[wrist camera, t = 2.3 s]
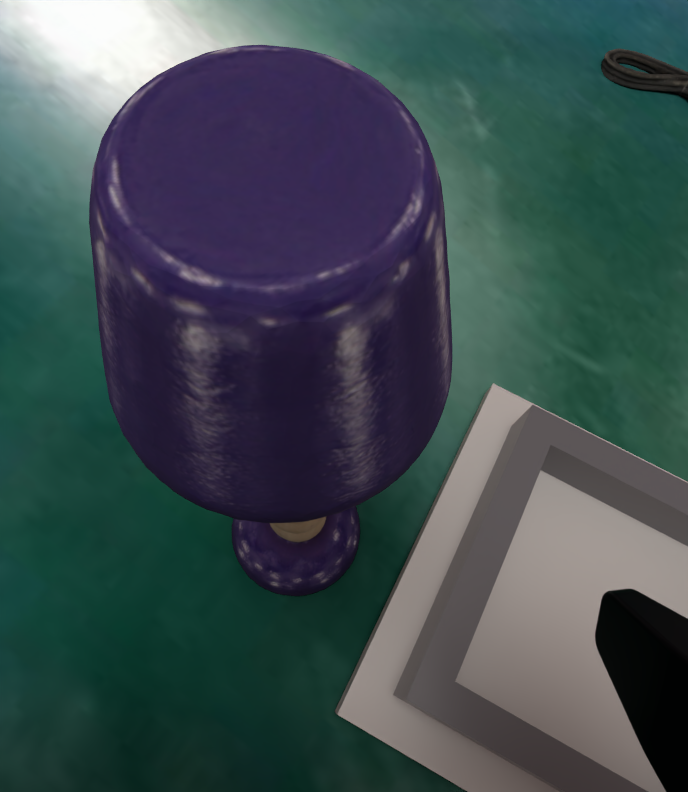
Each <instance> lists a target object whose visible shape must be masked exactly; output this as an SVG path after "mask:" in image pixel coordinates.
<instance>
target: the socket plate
mask: <svg viewBox="0 0 688 792" xmlns="http://www.w3.org/2000/svg"><path fill="white" fill-rule="evenodd" d="M619 589H634V590H636V591H639V592H640V593H642V594H644V595H646V596H648V597H649V598H651V599H653V600H655V601H657V602H658V603H660V604H662V605H664V606H666V607H668V608H669V609H671V610H673V611H675V612H677V613H678V614H680V615H682V616H684V617H686V618H687V619H688V482H687V481H685V480H683V479H681V478H679V477H677V476H675V475H673V474H671V473H669V472H667V471H665V470H663V469H661V468H659V467H657V466H655V465H653V464H651V463H649V462H647V461H645V460H643V459H641V458H639V457H637V456H635V455H633V454H631V453H629V452H627V451H625V450H624V449H622V448H620V447H618V446H616V445H614V444H612V443H610V442H608V441H606V440H604V439H602V438H600V437H598V436H596V435H594V434H592V433H590V432H588V431H586V430H584V429H582V428H580V427H578V426H576V425H574V424H572V423H570V422H568V421H566V420H564V419H562V418H560V417H558V416H556V415H554V414H552V413H550V412H548V411H546V410H544V409H543V408H541V407H539V406H537V405H535V404H533V403H531V402H529V401H527V400H525V399H523V398H521V397H519V396H517V395H515V394H513V393H511V392H509V391H507V390H505V389H503V388H501V387H499V386H497V385H495V384H492V386H491V387H490V388H489V390H488V391H487V392H486V393H485V395H484V397H483V399H482V401H481V403H480V406H479V408H478V410H477V412H476V414H475V416H474V418H473V420H472V422H471V425H470V427H469V429H468V431H467V433H466V435H465V437H464V439H463V441H462V444H461V446H460V448H459V450H458V452H457V454H456V456H455V458H454V460H453V463H452V465H451V467H450V469H449V471H448V473H447V475H446V477H445V479H444V482H443V484H442V486H441V488H440V490H439V492H438V494H437V496H436V498H435V501H434V503H433V505H432V507H431V509H430V511H429V513H428V515H427V517H426V520H425V522H424V524H423V526H422V528H421V530H420V532H419V534H418V536H417V539H416V541H415V543H414V545H413V547H412V549H411V551H410V553H409V555H408V558H407V560H406V562H405V564H404V566H403V568H402V570H401V572H400V574H399V577H398V579H397V581H396V583H395V585H394V587H393V589H392V591H391V593H390V596H389V598H388V600H387V602H386V604H385V606H384V608H383V610H382V612H381V615H380V617H379V619H378V621H377V623H376V625H375V627H374V629H373V631H372V634H371V636H370V638H369V640H368V642H367V644H366V646H365V648H364V650H363V653H362V655H361V657H360V659H359V661H358V663H357V665H356V667H355V670H354V672H353V674H352V676H351V678H350V680H349V682H348V684H347V686H346V689H345V691H344V693H343V695H342V697H341V699H340V701H339V703H338V705H337V708H336V710H335V713H336V714H337V715H339V716H341V717H342V718H344V719H346V720H347V721H349V722H351V723H352V724H354V725H356V726H357V727H359V728H361V729H362V730H364V731H366V732H368V733H369V734H371V735H373V736H374V737H376V738H378V739H379V740H381V741H383V742H384V743H386V744H388V745H390V746H391V747H393V748H395V749H396V750H398V751H400V752H401V753H403V754H405V755H406V756H408V757H410V758H412V759H413V760H415V761H417V762H418V763H420V764H422V765H423V766H425V767H427V768H428V769H430V770H432V771H434V772H435V773H437V774H439V775H440V776H442V777H444V778H445V779H447V780H449V781H450V782H452V783H454V784H456V785H457V786H459V787H461V788H462V789H464V790H466V791H467V792H666V791H665V789H664V787H663V785H662V784H661V782H660V780H659V778H658V777H657V775H656V773H655V771H654V769H653V768H652V766H651V764H650V762H649V760H648V758H647V757H646V755H645V753H644V751H643V749H642V747H641V745H640V743H639V740H638V738H637V736H636V734H635V732H634V730H633V728H632V725H631V723H630V721H629V719H628V717H627V714H626V712H625V710H624V708H623V705H622V703H621V701H620V699H619V697H618V694H617V692H616V690H615V688H614V686H613V683H612V681H611V679H610V677H609V675H608V672H607V670H606V668H605V666H604V663H603V661H602V659H601V657H600V655H599V652H598V650H597V646H596V642H595V630H596V625H597V620H598V614H599V609H600V604H601V599H602V596H603V595H604V593H605V592H607V591H610V590H619Z"/></svg>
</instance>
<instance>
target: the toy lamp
mask: <svg viewBox="0 0 688 792" xmlns="http://www.w3.org/2000/svg"><path fill="white" fill-rule="evenodd" d="M89 224H90V235H91V245H92V255H93V266H94V277H95V287H96V298H97V308H98V319H99V331H100V339H101V348H102V356H103V363H104V369H105V376H106V381H107V387H108V393H109V399H110V403H111V405H112V408H113V411H114V413H115V416H116V418H117V420H118V423H119V425H120V428H121V430H122V432H123V435H124V436H125V437H126V439H127V440H128V442H129V443H130V445H131V446H132V448H133V449H134V451H135V452H136V454H137V455H138V457H139V458H140V459H141V461H142V462H143V463H144V465H145V466H146V467H147V468H148V469H149V470H150V471H151V472H152V473H153V474H155V476H156V477H157V478H158V479H159V480H160V481H162V482H163V483H165V484H166V485H167V486H168V487H169V488H171V489H172V490H173V491H174V492H176V493H177V494H179V495H180V496H182V497H184V498H185V499H187V500H189V501H191V502H193V503H195V504H196V505H198V506H201V507H203V508H205V509H207V510H210V511H214V512H217V513H220V514H223V515H226V516H229V517H232V518H234V519H233V523H232V543H233V548H234V551H235V554H236V557H237V559H238V562H239V563H240V564H241V566H242V568H243V570H244V571H245V572H246V574H247V575H248V576H249V577H250V578H251V579H252V580H254V581H255V582H256V583H257V584H258V585H259V586H261V587H263V588H264V589H267V590H269V591H271V592H274V593H277V594H282V595H291V596H302V595H308V594H312V593H316V592H318V591H320V590H323V589H326V588H327V587H329V586H330V585H332V584H333V583H335V582H336V581H337V580H338V579H339V578H340V577H341V576H342V575H343V574H344V573H345V572H346V570H347V569H348V568H349V567H350V565H351V564H352V562H353V560H354V557H355V555H356V552H357V549H358V543H359V538H360V523H359V516H358V512H357V508H356V505H359V504H361V503H362V502H364V501H366V500H368V499H369V498H371V497H373V496H375V495H376V494H378V493H380V492H381V491H383V490H384V489H386V488H387V487H389V486H390V485H391V484H392V483H393V482H395V481H396V480H397V479H398V478H399V477H400V476H401V475H403V474H404V473H405V472H406V471H407V470H408V468H409V467H410V466H411V465H412V464H413V463H414V462H415V460H416V459H417V458H418V457H419V456H420V454H421V453H422V451H423V450H424V448H425V447H426V445H427V444H428V442H429V440H430V439H431V437H432V435H433V433H434V431H435V429H436V427H437V424H438V422H439V420H440V418H441V415H442V412H443V409H444V406H445V403H446V399H447V396H448V392H449V387H450V382H451V372H452V329H451V310H450V279H449V269H448V259H447V239H446V229H445V213H444V203H443V195H442V187H441V181H440V177H439V174H438V171H437V167H436V164H435V161H434V158H433V155H432V153H431V150H430V147H429V145H428V142H427V140H426V138H425V136H424V134H423V132H422V130H421V128H420V126H419V124H418V122H417V121H416V120H415V118H414V117H413V116H412V114H411V113H410V112H409V111H408V109H407V108H406V107H405V105H404V104H403V103H402V102H401V101H400V100H399V99H398V98H397V97H396V96H395V95H393V94H392V93H391V92H390V91H389V90H388V89H387V88H385V87H384V86H383V85H382V84H381V83H380V82H379V81H378V80H376V79H374V78H373V77H371V76H370V75H368V74H367V73H365V72H363V71H361V70H359V69H358V68H356V67H354V66H352V65H350V64H348V63H346V62H343V61H341V60H338V59H336V58H333V57H331V56H328V55H325V54H321V53H317V52H313V51H309V50H304V49H297V48H289V47H279V46H268V45H248V46H239V47H231V48H226V49H222V50H217V51H213V52H208V53H205V54H202V55H200V56H197V57H195V58H192V59H190V60H187V61H185V62H182V63H180V64H178V65H176V66H174V67H172V68H170V69H168V70H166V71H165V72H163V73H161V74H159V75H157V76H156V77H154V78H153V79H152V80H150V81H149V82H148V83H146V84H145V85H143V86H142V87H141V88H140V89H139V90H138V91H137V92H136V93H134V94H133V95H132V96H131V97H130V98H129V99H128V100H127V101H126V103H125V104H124V105H123V106H122V108H121V109H120V110H119V112H118V113H117V114H116V116H115V117H114V118H113V120H112V121H111V123H110V125H109V127H108V129H107V130H106V132H105V134H104V136H103V138H102V140H101V144H100V147H99V151H98V154H97V158H96V161H95V165H94V168H93V175H92V184H91V194H90V210H89Z"/></svg>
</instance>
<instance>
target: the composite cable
mask: <svg viewBox="0 0 688 792" xmlns="http://www.w3.org/2000/svg"><path fill="white" fill-rule="evenodd" d="M618 63H622V64H628V65H632V66H634V67H637V68H639V69H641V70H644V71H646V72H648V73H650V74H648V73H644V72H639V71H634V70H633V69H630V68H625V67H624V66H622V65H620V64H618ZM601 69H602V72H603V74H604V76H605V77H606V78H608V79H609V80H610V81H612V82H614V83H617V84H619V85H623V86H626V87H630V88H635V89H642V90H653V91H669V92H673V93H676V94H678V95H680V96H682V97H684V98H686V99H688V72H686V71H684V70H681V69H679V68H676V67H674V66H672V65H669V64H667V63H665V62H662V61H660V60H657V59H655V58H652V57H650V56H648V55H645V54H642V53H638V52H635V51H630V50H624V49H615V50H611V51H608V52H607V53H606V54H605V57H604V60H603V61H602V67H601Z"/></svg>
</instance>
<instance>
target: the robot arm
mask: <svg viewBox="0 0 688 792" xmlns="http://www.w3.org/2000/svg"><path fill="white" fill-rule="evenodd" d="M595 642H596V646H597V650H598V652H599V655H600V657H601V659H602V661H603V663H604V666H605V668H606V670H607V672H608V675H609V677H610V679H611V681H612V683H613V686H614V688H615V690H616V692H617V694H618V697H619V699H620V701H621V703H622V705H623V708H624V710H625V712H626V714H627V717H628V719H629V721H630V723H631V725H632V728H633V730H634V732H635V734H636V736H637V738H638V740H639V743H640V745H641V747H642V749H643V751H644V753H645V755H646V757H647V758H648V760H649V762H650V764H651V766H652V768H653V769H654V771H655V773H656V775H657V777H658V778H659V780H660V782H661V784H662V785H663V787H664V789H665V791H666V792H688V619H687V618H686V617H684V616H682V615H680V614H678V613H677V612H675V611H673V610H671V609H669V608H668V607H666V606H664V605H662V604H660V603H658V602H657V601H655V600H653V599H651V598H649V597H648V596H646V595H644V594H642V593H640V592H639V591H636V590H634V589H619V590H610V591H607V592H605V593H604V595H603V596H602V599H601V604H600V609H599V614H598V620H597V625H596V630H595Z"/></svg>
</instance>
